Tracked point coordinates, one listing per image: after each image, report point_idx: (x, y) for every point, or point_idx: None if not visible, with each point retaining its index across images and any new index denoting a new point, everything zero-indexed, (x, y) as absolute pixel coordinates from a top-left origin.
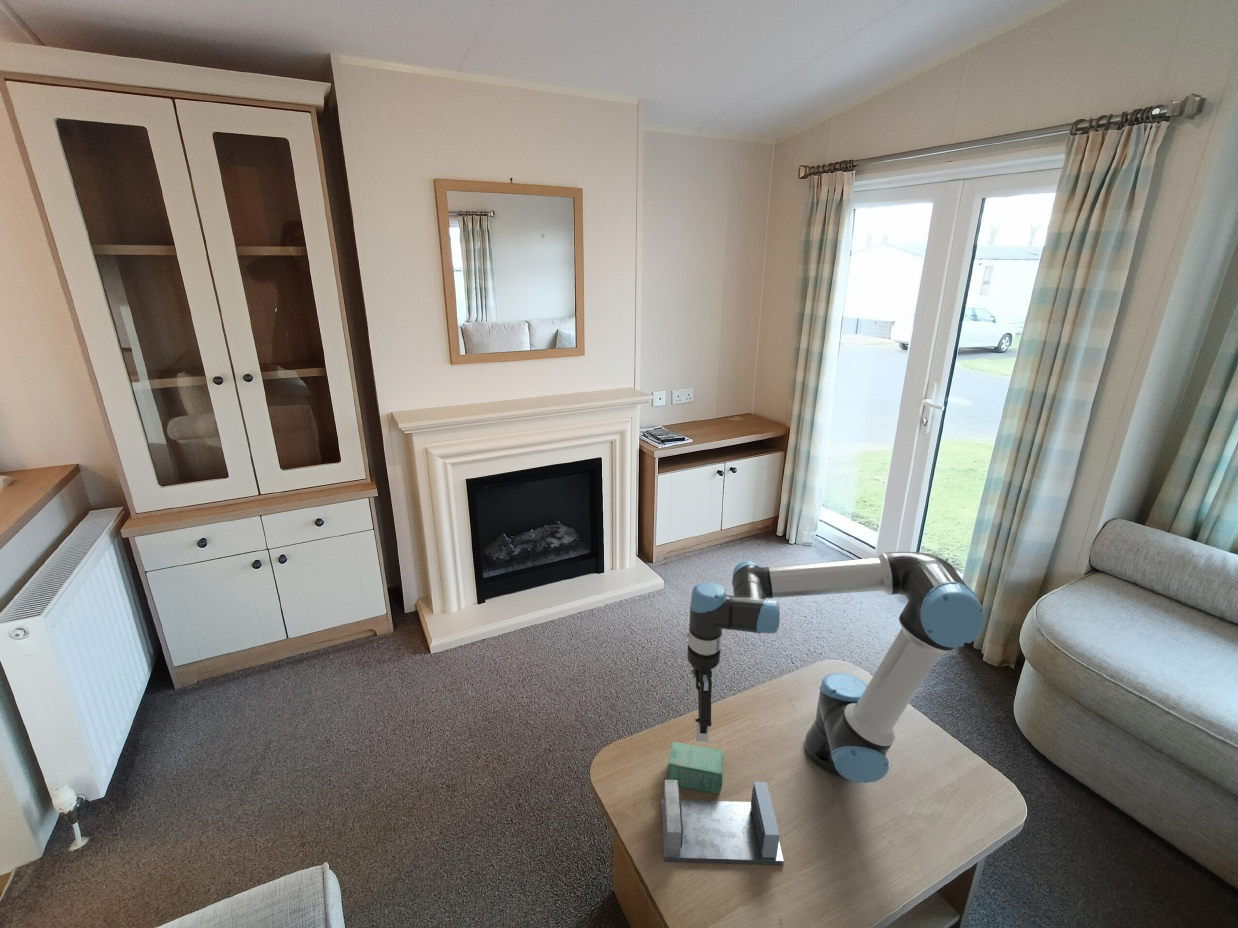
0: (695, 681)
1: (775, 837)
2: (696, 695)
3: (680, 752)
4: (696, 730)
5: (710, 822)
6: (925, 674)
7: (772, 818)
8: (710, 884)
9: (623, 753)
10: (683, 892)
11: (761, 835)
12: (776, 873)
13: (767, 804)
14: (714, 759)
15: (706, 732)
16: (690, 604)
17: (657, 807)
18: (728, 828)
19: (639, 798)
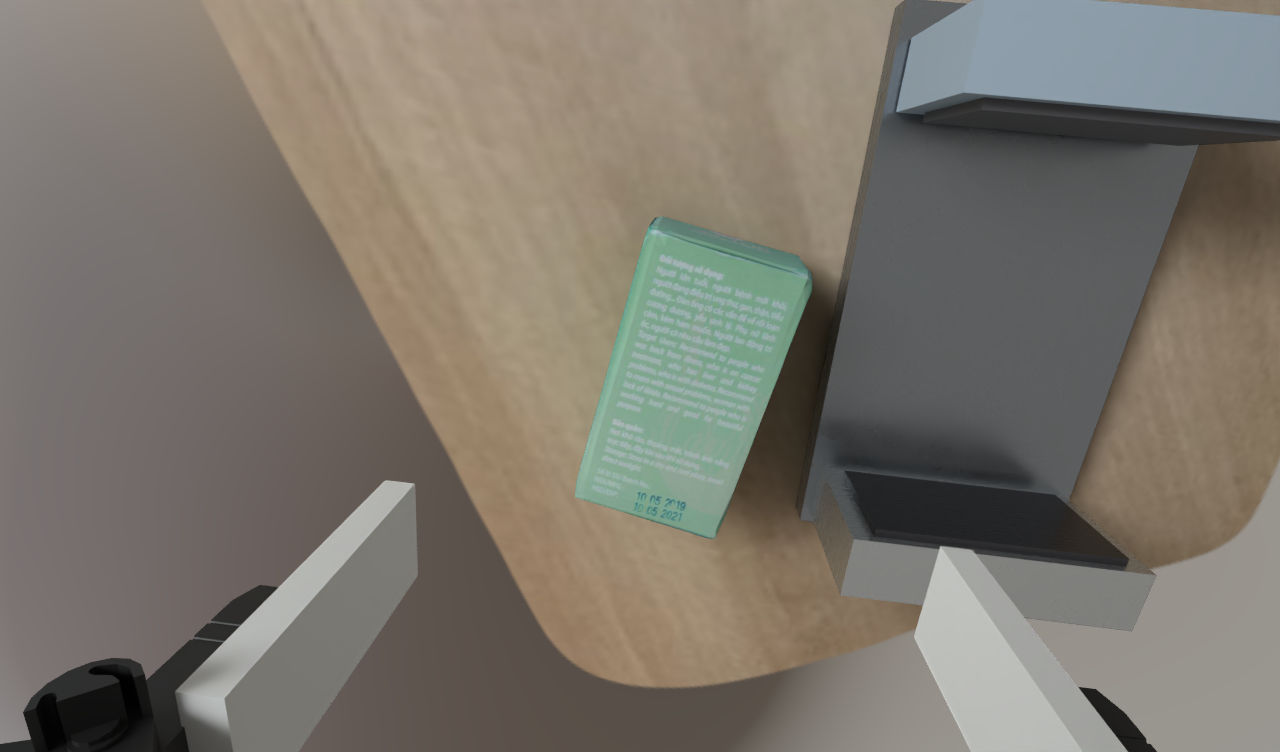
0: (286, 724)
1: None
2: (400, 550)
3: (651, 471)
4: (962, 724)
5: (949, 343)
6: None
7: (1270, 40)
8: (1176, 388)
9: (548, 607)
10: (1170, 489)
11: (1252, 140)
12: None
13: (1158, 44)
14: (714, 297)
15: (1125, 715)
16: None
17: (809, 522)
18: (997, 268)
19: (760, 578)
